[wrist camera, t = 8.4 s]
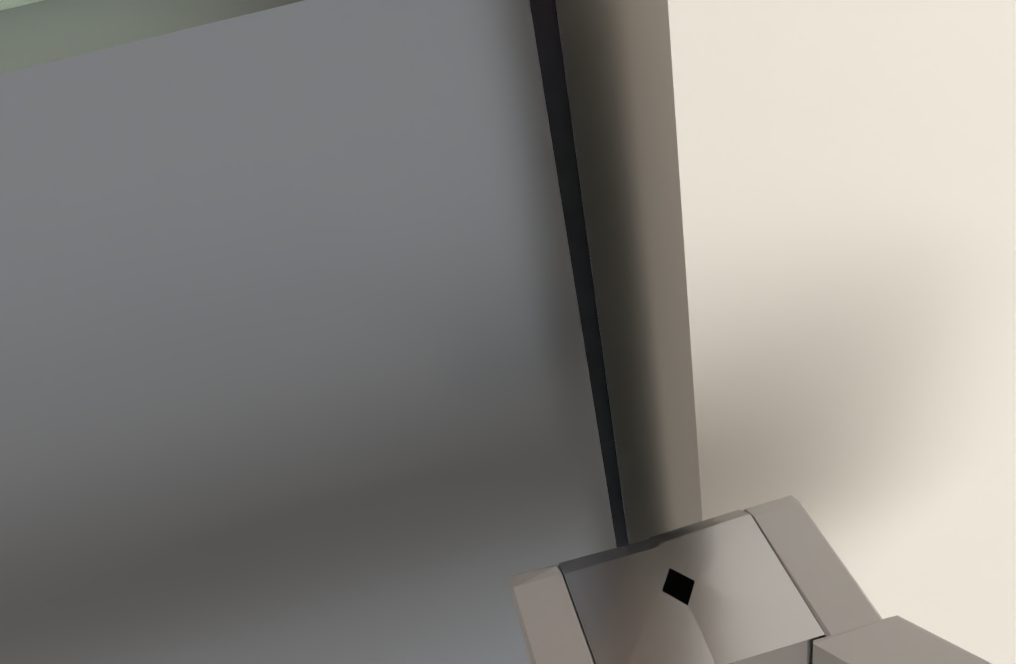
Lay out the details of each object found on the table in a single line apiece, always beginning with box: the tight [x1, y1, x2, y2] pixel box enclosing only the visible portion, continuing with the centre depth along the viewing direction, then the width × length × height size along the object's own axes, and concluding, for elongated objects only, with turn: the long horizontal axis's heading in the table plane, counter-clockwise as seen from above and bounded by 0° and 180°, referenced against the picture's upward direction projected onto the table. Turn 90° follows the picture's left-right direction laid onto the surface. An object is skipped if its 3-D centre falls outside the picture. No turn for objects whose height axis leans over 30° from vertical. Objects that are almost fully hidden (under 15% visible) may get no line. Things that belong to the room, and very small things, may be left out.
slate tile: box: [0, 0, 617, 664], centre depth 12 cm, size 12×8×2 cm, turn 10°
